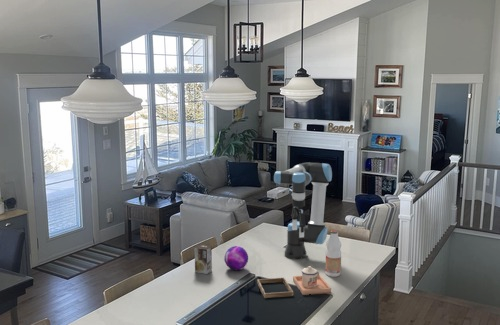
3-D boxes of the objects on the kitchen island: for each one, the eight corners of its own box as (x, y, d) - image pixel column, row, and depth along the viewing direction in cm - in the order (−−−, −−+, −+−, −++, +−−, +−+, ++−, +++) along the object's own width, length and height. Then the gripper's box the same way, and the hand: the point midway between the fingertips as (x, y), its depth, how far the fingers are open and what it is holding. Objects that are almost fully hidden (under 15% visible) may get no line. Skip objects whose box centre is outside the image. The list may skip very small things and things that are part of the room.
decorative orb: (253, 269, 319) (253, 246, 317) (236, 275, 308) (236, 252, 306) (236, 263, 329) (236, 241, 327) (219, 269, 319) (219, 246, 316)
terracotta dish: (292, 280, 301) (292, 276, 301) (319, 278, 304) (319, 274, 304) (302, 295, 282) (302, 290, 281) (330, 292, 285) (330, 288, 284)
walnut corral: (257, 283, 298) (257, 279, 297) (284, 281, 301) (284, 277, 300) (264, 298, 278) (264, 293, 277) (293, 295, 281) (293, 291, 280)
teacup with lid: (308, 290, 286) (309, 270, 284) (298, 284, 294) (298, 265, 292) (323, 285, 293) (324, 266, 291) (313, 279, 301) (313, 261, 299)
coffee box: (212, 270, 316) (212, 246, 313) (207, 274, 310) (206, 249, 308) (199, 268, 320) (199, 244, 317) (194, 272, 314) (194, 247, 311)
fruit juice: (330, 278, 306) (332, 234, 301) (322, 272, 314) (323, 229, 309) (343, 275, 310) (345, 232, 305) (334, 270, 318) (336, 227, 313)
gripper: (286, 194, 306) (286, 227, 310) (299, 205, 282) (298, 241, 286) (298, 193, 307) (297, 226, 311) (311, 204, 283) (310, 239, 287)
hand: (298, 233), depth 299 cm, fingers open, 13 cm apart
